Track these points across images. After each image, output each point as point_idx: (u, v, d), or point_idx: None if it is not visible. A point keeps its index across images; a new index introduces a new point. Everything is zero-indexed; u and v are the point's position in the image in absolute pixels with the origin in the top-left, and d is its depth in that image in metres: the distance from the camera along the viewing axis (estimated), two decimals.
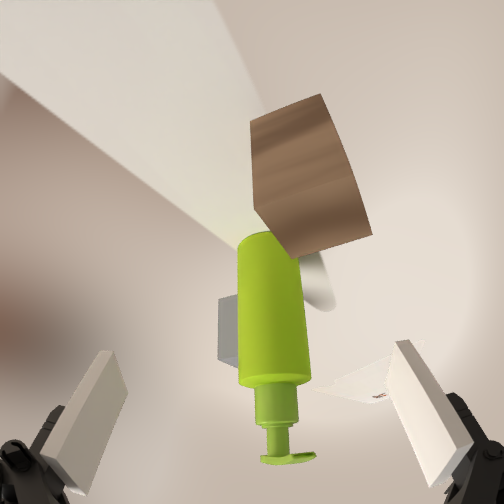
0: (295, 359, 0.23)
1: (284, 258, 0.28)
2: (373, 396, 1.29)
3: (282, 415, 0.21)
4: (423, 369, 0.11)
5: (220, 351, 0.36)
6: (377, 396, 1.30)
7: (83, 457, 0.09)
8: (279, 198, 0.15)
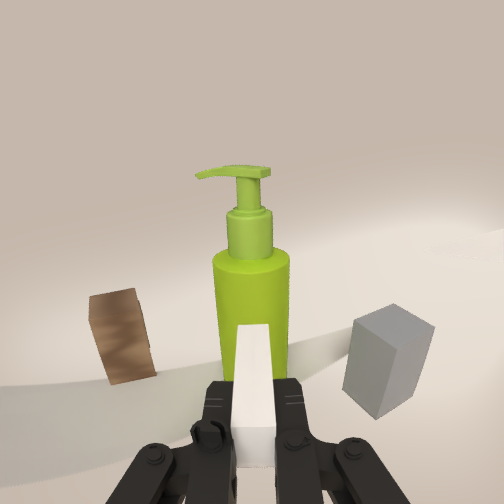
0: None
1: None
2: None
3: None
4: (264, 351, 0.13)
5: (390, 357, 0.21)
6: None
7: None
8: None
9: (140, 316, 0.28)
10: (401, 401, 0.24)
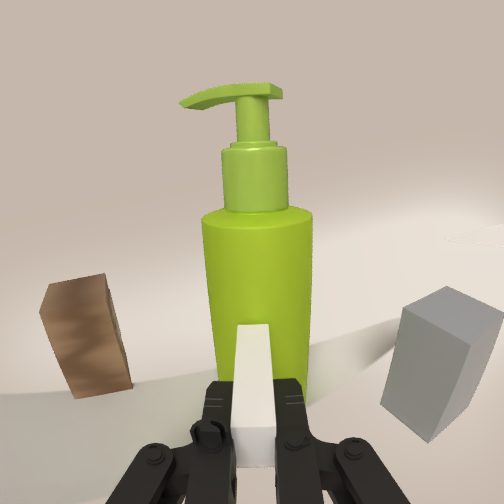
0: None
1: None
2: None
3: None
4: (264, 351, 0.13)
5: (460, 357, 0.13)
6: None
7: None
8: (42, 304, 0.19)
9: (106, 308, 0.20)
10: (457, 415, 0.16)
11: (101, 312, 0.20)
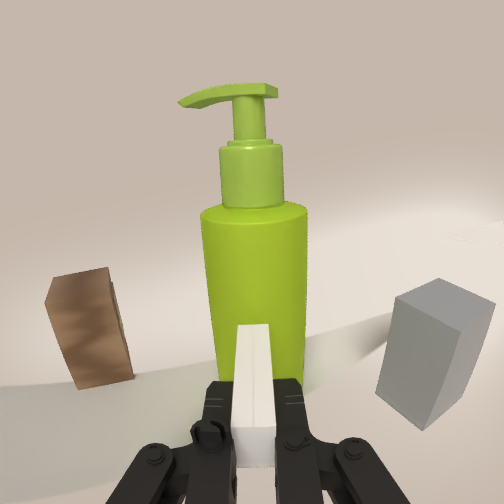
0: None
1: None
2: None
3: None
4: (264, 351, 0.13)
5: (451, 344, 0.14)
6: None
7: None
8: (47, 296, 0.20)
9: (109, 299, 0.21)
10: (451, 404, 0.17)
11: (105, 303, 0.20)
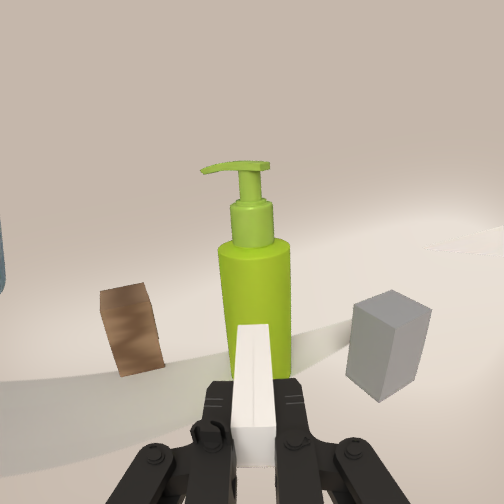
0: None
1: None
2: None
3: None
4: (264, 351, 0.13)
5: (390, 337, 0.23)
6: None
7: None
8: (100, 305, 0.28)
9: (149, 307, 0.29)
10: (403, 384, 0.26)
11: (146, 310, 0.29)
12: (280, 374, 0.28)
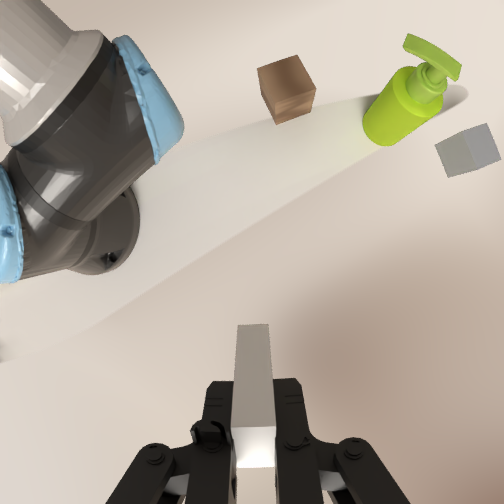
0: (391, 78, 0.27)
1: None
2: None
3: (414, 72, 0.23)
4: (264, 351, 0.13)
5: (472, 168, 0.31)
6: None
7: None
8: (270, 93, 0.32)
9: (314, 91, 0.32)
10: None
11: (311, 93, 0.33)
12: None
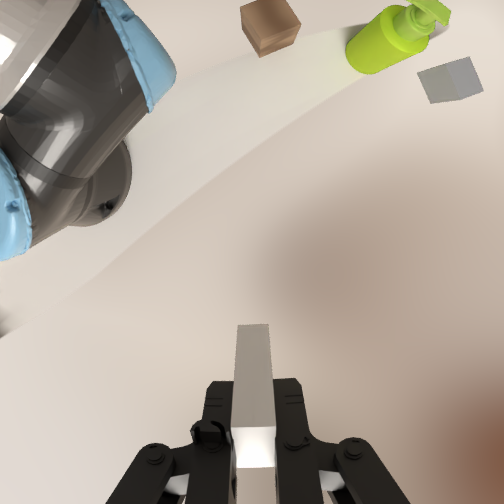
0: (378, 15, 0.24)
1: (352, 39, 0.33)
2: None
3: (403, 13, 0.21)
4: (264, 351, 0.13)
5: (455, 97, 0.31)
6: None
7: None
8: (255, 30, 0.29)
9: (299, 26, 0.29)
10: None
11: (296, 28, 0.29)
12: None
